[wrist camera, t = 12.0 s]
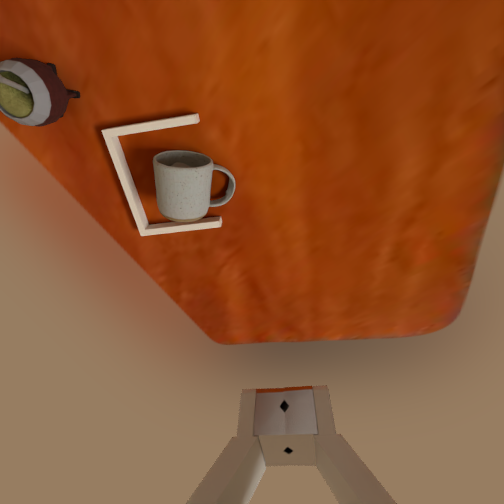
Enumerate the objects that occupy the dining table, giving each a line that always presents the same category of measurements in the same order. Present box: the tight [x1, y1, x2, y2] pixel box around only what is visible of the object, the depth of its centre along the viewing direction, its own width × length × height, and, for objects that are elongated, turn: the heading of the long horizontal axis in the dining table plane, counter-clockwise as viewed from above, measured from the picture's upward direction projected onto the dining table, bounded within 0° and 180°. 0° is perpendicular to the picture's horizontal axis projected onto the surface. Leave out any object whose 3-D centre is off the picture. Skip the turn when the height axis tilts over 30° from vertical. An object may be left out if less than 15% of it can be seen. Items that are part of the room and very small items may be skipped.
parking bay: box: [101, 113, 222, 236], centre depth 45 cm, size 16×13×2 cm
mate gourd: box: [0, 58, 80, 126], centre depth 34 cm, size 8×8×15 cm
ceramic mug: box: [153, 150, 235, 222], centre depth 42 cm, size 11×8×8 cm
